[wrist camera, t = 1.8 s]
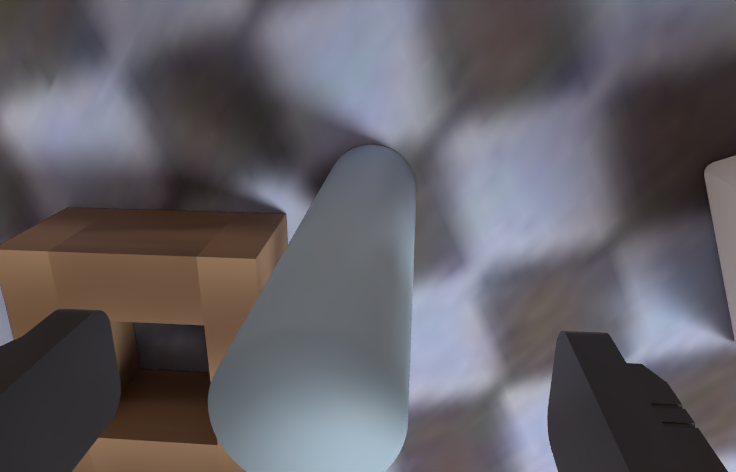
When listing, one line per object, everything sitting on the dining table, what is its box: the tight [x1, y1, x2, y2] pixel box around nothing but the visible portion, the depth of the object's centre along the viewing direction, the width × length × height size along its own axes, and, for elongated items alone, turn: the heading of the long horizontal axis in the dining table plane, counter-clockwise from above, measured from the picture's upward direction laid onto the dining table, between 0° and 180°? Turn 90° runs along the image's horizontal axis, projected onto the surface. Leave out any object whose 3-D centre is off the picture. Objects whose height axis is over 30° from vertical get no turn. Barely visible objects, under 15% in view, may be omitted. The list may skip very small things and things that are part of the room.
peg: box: [208, 145, 416, 472], centre depth 14 cm, size 3×3×12 cm
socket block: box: [0, 207, 288, 472], centre depth 22 cm, size 18×8×4 cm, turn 0°
